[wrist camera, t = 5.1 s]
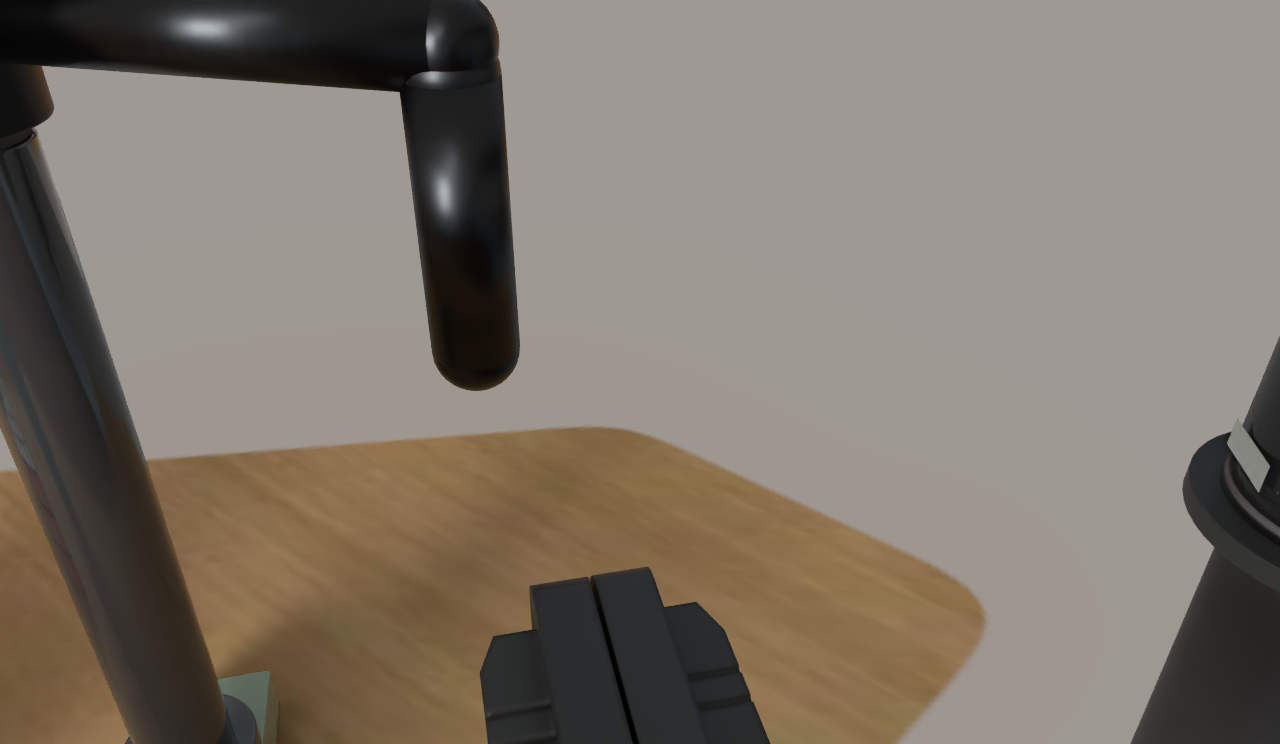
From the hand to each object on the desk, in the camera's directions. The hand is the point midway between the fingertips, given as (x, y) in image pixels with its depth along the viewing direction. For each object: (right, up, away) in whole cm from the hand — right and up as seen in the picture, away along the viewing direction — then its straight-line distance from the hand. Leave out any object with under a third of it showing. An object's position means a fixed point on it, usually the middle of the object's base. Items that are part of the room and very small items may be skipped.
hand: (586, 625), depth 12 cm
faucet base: (-12, -9, +16) cm, 22 cm away
